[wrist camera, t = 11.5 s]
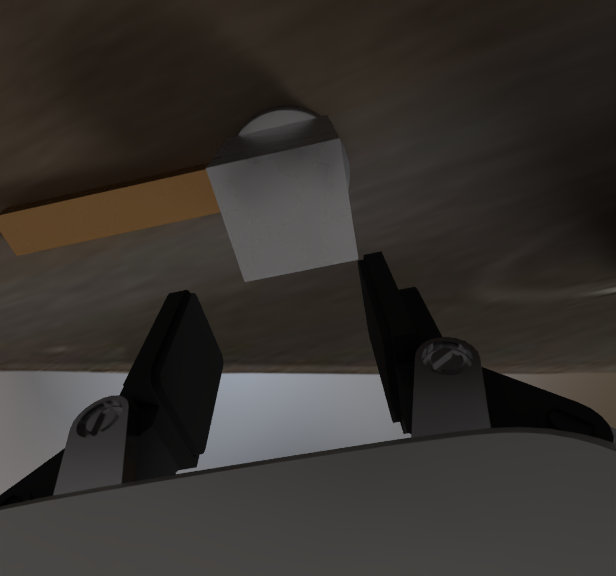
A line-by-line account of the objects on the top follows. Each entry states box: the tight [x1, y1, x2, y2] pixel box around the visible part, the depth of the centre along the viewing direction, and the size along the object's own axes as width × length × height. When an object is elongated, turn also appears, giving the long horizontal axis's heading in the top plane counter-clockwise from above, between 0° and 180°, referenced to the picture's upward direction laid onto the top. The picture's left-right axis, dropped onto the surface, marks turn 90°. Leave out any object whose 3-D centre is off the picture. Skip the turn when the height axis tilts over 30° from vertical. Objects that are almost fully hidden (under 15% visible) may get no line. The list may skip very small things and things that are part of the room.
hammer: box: [0, 105, 350, 256], centre depth 25 cm, size 24×8×6 cm, turn 102°
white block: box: [206, 115, 358, 282], centre depth 22 cm, size 6×6×7 cm
